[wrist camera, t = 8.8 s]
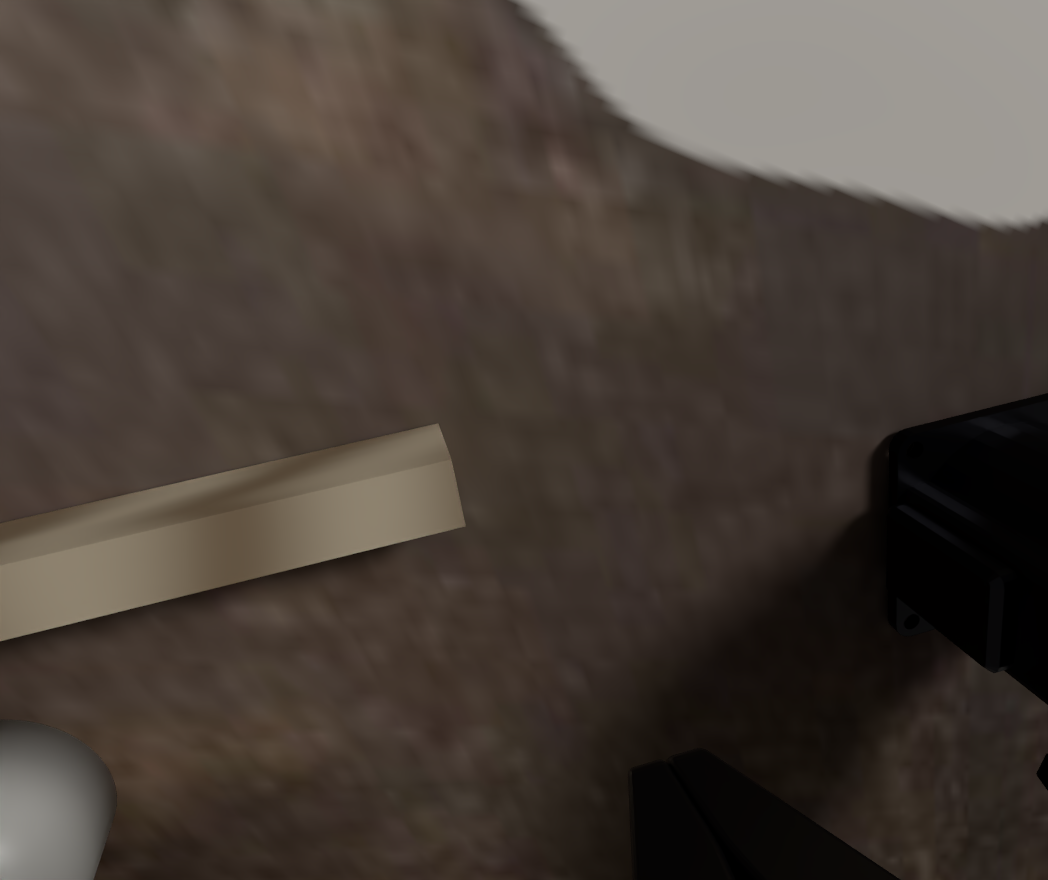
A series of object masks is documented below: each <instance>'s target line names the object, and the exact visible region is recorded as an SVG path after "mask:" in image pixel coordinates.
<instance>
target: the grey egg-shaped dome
mask: <svg viewBox="0 0 1048 880" xmlns="http://www.w3.org/2000/svg"><path fill="white" fill-rule="evenodd" d="M116 807H117V793H116V787H115V783H114V780H113V778H112V775H111V773H110V771H109V769H108V768H107V766H106V764H105V763H104V762H103V760H102V759H101V758H100V757H99V756H98V755H97V754H96V753H95V752H94V751H93V750H92V749H91V748H90V747H89V746H87V745H86V744H85V743H83V742H82V741H81V740H79V739H77V738H75V737H74V736H72V735H70V734H68V733H66V732H64V731H61V730H59V729H56V728H54V727H50V726H47V725H44V724H40V723H34V722H29V721H21V720H0V880H94V877H95V874H96V871H97V868H98V865H99V862H100V859H101V856H102V853H103V850H104V847H105V844H106V841H107V838H108V835H109V832H110V829H111V826H112V823H113V820H114V816H115V812H116Z"/></svg>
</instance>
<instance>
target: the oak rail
mask: <svg viewBox="0 0 1048 880" xmlns="http://www.w3.org/2000/svg"><path fill="white" fill-rule="evenodd" d="M464 526H465V521H464V516H463V512H462V507H461V502H460V498H459V493H458V488H457V483H456V479H455V474H454V469H453V465H452V460H451V457H450V454H449V452H448V449H447V446H446V444H445V441H444V438H443V435H442V433H441V430H440V427H439V424H433V425H429V426H425V427H420V428H416V429H412V430H407V431H403V432H398V433H394V434H390V435H385V436H381V437H376V438H372V439H368V440H363V441H359V442H355V443H350V444H346V445H341V446H337V447H333V448H328V449H324V450H319V451H315V452H311V453H306V454H302V455H298V456H293V457H289V458H284V459H280V460H276V461H271V462H267V463H262V464H258V465H254V466H249V467H245V468H241V469H236V470H232V471H227V472H223V473H219V474H214V475H210V476H205V477H201V478H197V479H192V480H188V481H184V482H179V483H175V484H170V485H166V486H162V487H157V488H153V489H148V490H144V491H140V492H135V493H131V494H127V495H122V496H118V497H113V498H109V499H105V500H100V501H96V502H91V503H87V504H83V505H78V506H74V507H70V508H65V509H61V510H56V511H52V512H48V513H43V514H39V515H34V516H30V517H26V518H21V519H17V520H12V521H8V522H4V523H0V641H3V640H7V639H11V638H16V637H20V636H24V635H28V634H32V633H36V632H40V631H44V630H48V629H52V628H56V627H60V626H64V625H68V624H72V623H76V622H80V621H84V620H88V619H92V618H96V617H100V616H104V615H109V614H113V613H117V612H121V611H125V610H129V609H133V608H137V607H141V606H145V605H149V604H153V603H157V602H161V601H165V600H169V599H173V598H177V597H181V596H185V595H189V594H193V593H197V592H201V591H206V590H210V589H214V588H218V587H222V586H226V585H230V584H234V583H238V582H242V581H246V580H250V579H254V578H258V577H262V576H266V575H270V574H274V573H278V572H282V571H286V570H290V569H294V568H299V567H303V566H307V565H311V564H315V563H319V562H323V561H327V560H331V559H335V558H339V557H343V556H347V555H351V554H355V553H359V552H363V551H367V550H371V549H375V548H379V547H383V546H387V545H392V544H396V543H400V542H404V541H408V540H412V539H416V538H420V537H424V536H428V535H432V534H436V533H440V532H444V531H448V530H452V529H456V528H460V527H464Z"/></svg>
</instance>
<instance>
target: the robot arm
mask: <svg viewBox="0 0 1048 880" xmlns="http://www.w3.org/2000/svg"><path fill="white" fill-rule="evenodd" d="M912 443H914V445H913V448H912V450H911V451H910V452H909V453H907V454H906V452H907V448H908V447H909V446H910V445H911V444H912ZM886 587H887V589H888V621H889V624H890V625H891V627H892V628H893V629H895V630H896V631H897V632H898V633H899V634H900V635H903V636H913V635H916V634H920V633H923V632H927V631H930V630H934V629H937V630H938V631H939V632H941V633H942V634H943V635H944V636H945V637H947V638H948V639H949V640H950V641H952V642H953V643H954V644H955V645H957V646H958V647H959V648H960V649H962V650H963V651H964V652H965V653H966V654H968V655H969V656H970V657H971V658H973V659H974V660H975V661H976V662H978V663H979V664H980V665H981V666H983V667H984V668H986V669H987V670H989V671H991V672H993V673H996V672H1000V671H1003V670H1004V671H1006V672H1007V673H1008V674H1009V675H1011V676H1012V677H1013V678H1014V679H1016V680H1017V681H1018V682H1019V683H1021V684H1022V685H1023V686H1025V687H1026V688H1027V689H1028V690H1030V691H1031V692H1032V693H1033V694H1035V695H1036V696H1037V697H1039V698H1040V699H1041V700H1042V701H1044V702H1045V703H1046V704H1047V705H1048V393H1047V394H1043V395H1039V396H1035V397H1031V398H1027V399H1023V400H1019V401H1015V402H1011V403H1007V404H1003V405H999V406H995V407H991V408H987V409H983V410H979V411H975V412H971V413H967V414H963V415H959V416H955V417H951V418H947V419H943V420H939V421H935V422H931V423H927V424H923V425H919V426H915V427H911V428H907V429H904V430H902V431H900V432H898V433H897V434H896V435H895V436H894V437H893V439H892V441H891V443H890V447H889V511H888V514H887V554H886ZM908 616H910V617H909V618H908V619H907V620H905V619H906V618H907V617H908ZM1036 774H1037V776H1038V778H1039V779H1040V780H1041V782H1042V783H1043V785H1044V786H1045V787H1046V789H1047V790H1048V754H1046V755H1045V757H1044V759H1043V761H1042V763H1041V765H1040V767H1039V769H1038V771H1037V773H1036ZM628 789H629V811H630V833H631V856H632V878H633V880H900V879H899V878H897V877H896V876H894V875H893V874H891V873H890V872H888V871H887V870H885V869H884V868H882V867H881V866H879V865H878V864H876V863H875V862H873V861H872V860H870V859H869V858H867V857H866V856H864V855H863V854H861V853H860V852H858V851H857V850H855V849H854V848H852V847H851V846H849V845H848V844H846V843H845V842H843V841H842V840H840V839H839V838H837V837H836V836H834V835H833V834H831V833H830V832H828V831H827V830H825V829H824V828H822V827H821V826H819V825H818V824H817V823H815V822H814V821H812V820H811V819H809V818H808V817H806V816H805V815H803V814H802V813H800V812H799V811H797V810H796V809H794V808H793V807H791V806H790V805H788V804H787V803H785V802H784V801H782V800H781V799H779V798H778V797H776V796H775V795H773V794H772V793H770V792H769V791H767V790H766V789H764V788H763V787H761V786H760V785H758V784H757V783H755V782H754V781H752V780H751V779H749V778H748V777H746V776H745V775H743V774H742V773H740V772H739V771H737V770H736V769H735V768H733V767H732V766H730V765H729V764H727V763H726V762H724V761H723V760H721V759H720V758H718V757H717V756H715V755H714V754H712V753H711V752H709V751H707V750H705V749H702V748H697V749H693V750H690V751H687V752H683V753H680V754H676V755H673V756H671V757H669V758H668V760H667V762H665V761H663V760H656V761H653V762H650V763H646V764H643V765H640V766H636V767H633V768H631V769H630V770H629V772H628Z"/></svg>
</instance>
